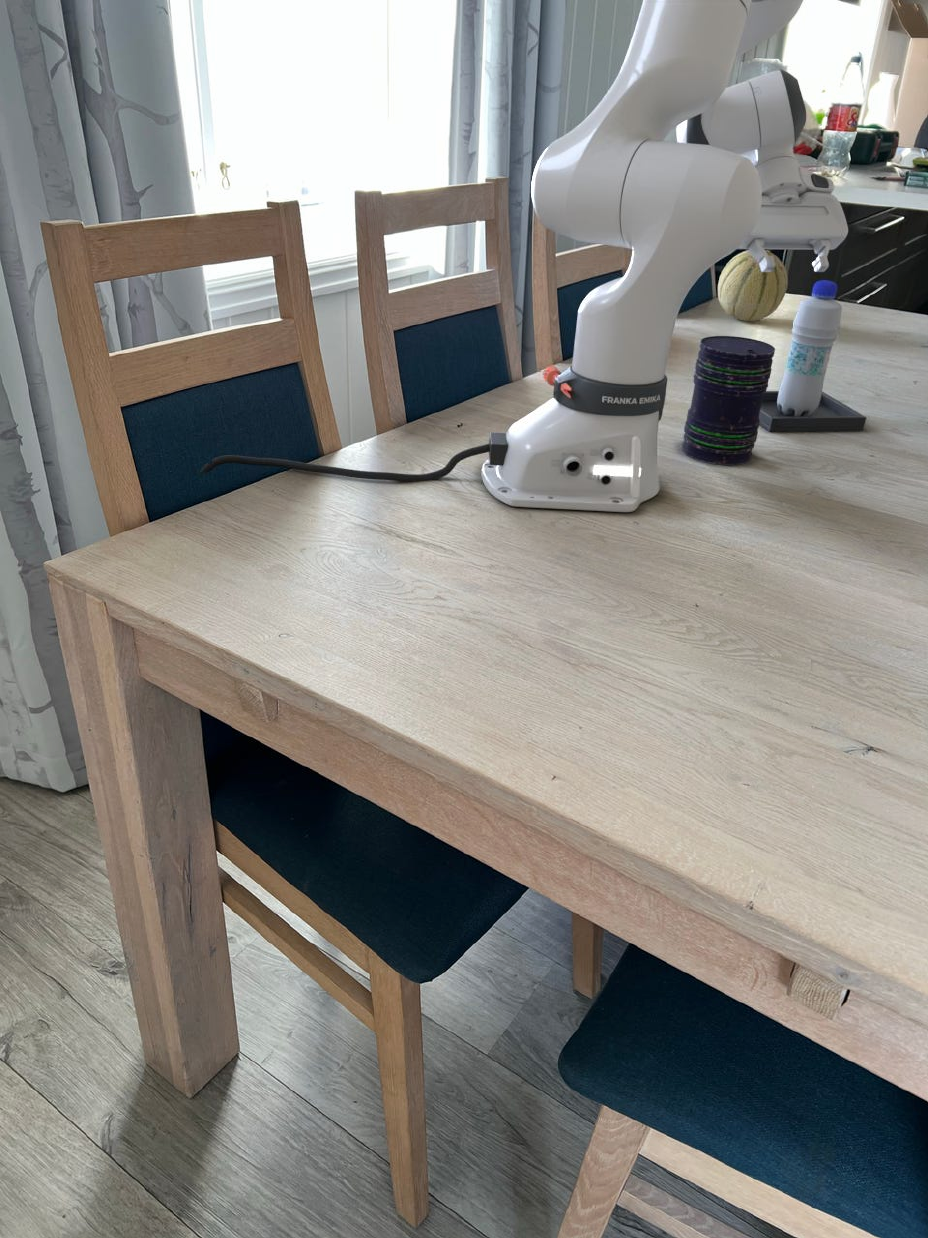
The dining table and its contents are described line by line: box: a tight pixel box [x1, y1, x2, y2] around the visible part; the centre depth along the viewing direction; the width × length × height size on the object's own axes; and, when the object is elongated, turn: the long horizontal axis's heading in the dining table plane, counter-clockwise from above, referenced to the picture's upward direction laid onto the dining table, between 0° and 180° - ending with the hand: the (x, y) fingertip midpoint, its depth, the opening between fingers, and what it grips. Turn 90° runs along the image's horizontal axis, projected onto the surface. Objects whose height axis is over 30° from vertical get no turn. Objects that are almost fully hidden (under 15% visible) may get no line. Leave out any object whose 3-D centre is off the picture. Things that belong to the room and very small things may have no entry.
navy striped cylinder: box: [681, 335, 776, 466], centre depth 128 cm, size 10×10×15 cm
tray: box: [759, 390, 867, 433], centre depth 147 cm, size 16×14×2 cm
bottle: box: [777, 279, 843, 417], centre depth 143 cm, size 7×7×20 cm
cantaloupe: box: [717, 249, 789, 322], centre depth 204 cm, size 15×15×15 cm
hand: (795, 269), depth 145 cm, fingers open, 8 cm apart
